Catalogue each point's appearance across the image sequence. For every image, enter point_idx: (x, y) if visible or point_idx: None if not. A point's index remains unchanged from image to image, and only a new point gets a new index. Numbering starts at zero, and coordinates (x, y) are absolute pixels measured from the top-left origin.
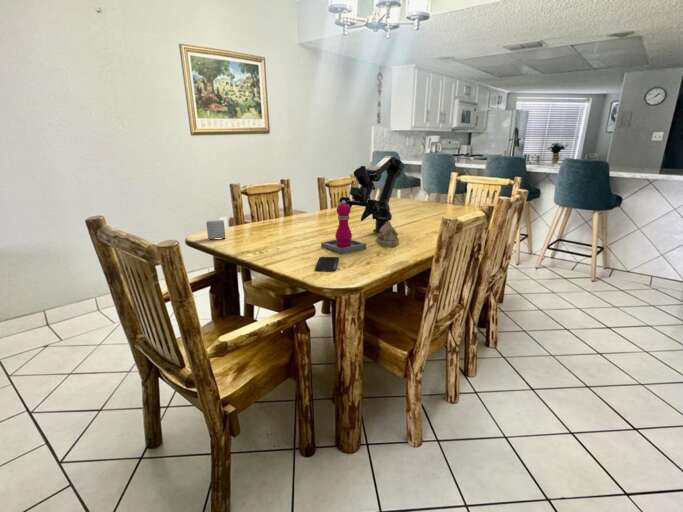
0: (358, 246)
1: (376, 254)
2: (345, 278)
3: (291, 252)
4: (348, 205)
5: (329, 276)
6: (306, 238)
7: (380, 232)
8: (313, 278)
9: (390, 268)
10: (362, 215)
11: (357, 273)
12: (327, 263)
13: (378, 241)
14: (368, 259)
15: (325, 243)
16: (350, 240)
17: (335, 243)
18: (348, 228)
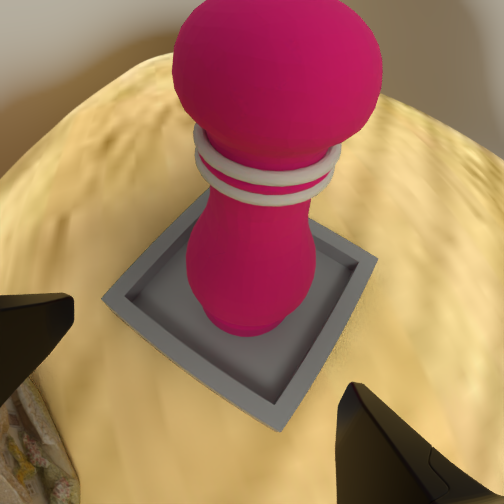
0: (143, 257)
1: (66, 231)
2: (169, 70)
3: (417, 182)
4: (206, 5)
5: None
6: (497, 392)
7: (22, 485)
8: None
9: (55, 132)
10: (26, 303)
11: (143, 89)
12: None
13: (48, 430)
14: (103, 170)
15: (345, 243)
16: (221, 371)
17: (315, 329)
18: (205, 209)
